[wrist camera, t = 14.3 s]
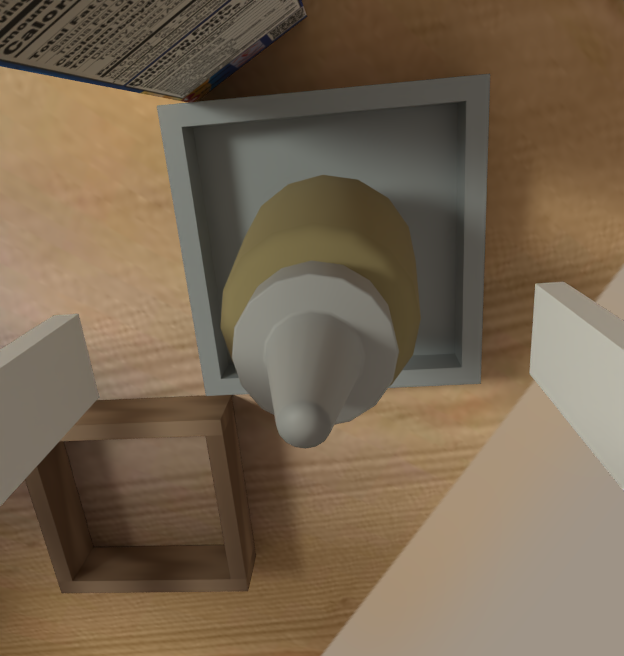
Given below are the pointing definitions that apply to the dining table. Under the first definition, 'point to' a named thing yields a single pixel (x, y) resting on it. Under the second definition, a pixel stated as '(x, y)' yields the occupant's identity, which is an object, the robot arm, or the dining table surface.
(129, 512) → the dining table surface
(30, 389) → the robot arm
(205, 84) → the beverage box
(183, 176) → the tray
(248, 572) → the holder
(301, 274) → the squeeze bottle
